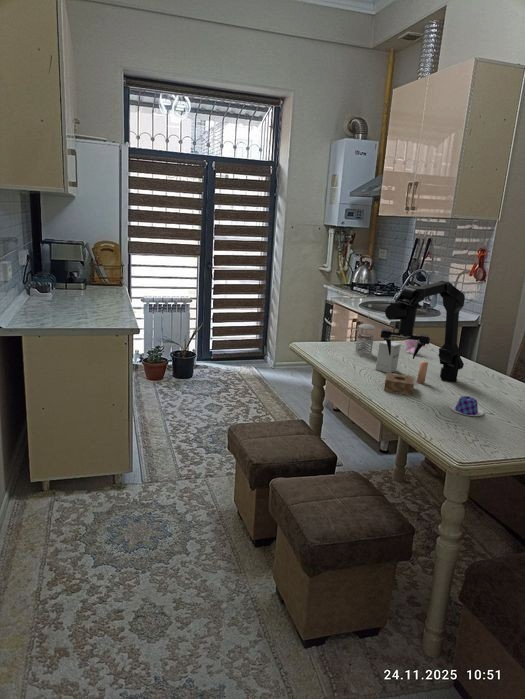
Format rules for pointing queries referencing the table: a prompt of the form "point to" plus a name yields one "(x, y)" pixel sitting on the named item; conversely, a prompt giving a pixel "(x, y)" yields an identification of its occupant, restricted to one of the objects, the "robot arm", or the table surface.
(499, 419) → the table surface
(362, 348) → the french press
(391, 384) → the bore block
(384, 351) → the supplement box
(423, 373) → the pin
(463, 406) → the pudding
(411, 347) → the lily
